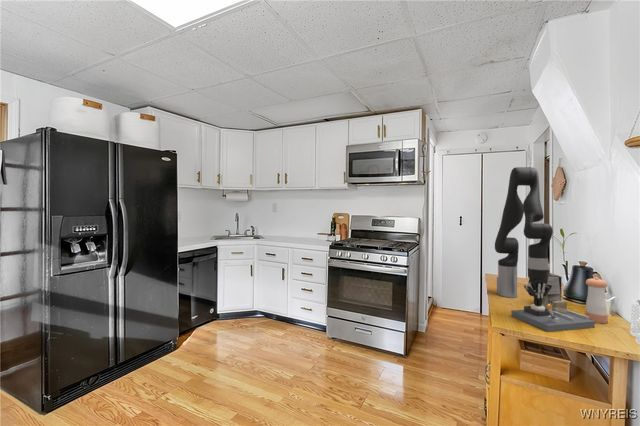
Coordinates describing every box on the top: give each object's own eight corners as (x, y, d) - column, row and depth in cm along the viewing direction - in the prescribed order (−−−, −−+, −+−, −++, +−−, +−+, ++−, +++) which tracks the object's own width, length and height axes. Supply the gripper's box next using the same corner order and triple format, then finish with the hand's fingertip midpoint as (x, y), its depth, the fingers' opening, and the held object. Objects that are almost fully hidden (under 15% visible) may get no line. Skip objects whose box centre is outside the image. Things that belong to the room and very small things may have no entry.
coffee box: (562, 309, 144) (562, 276, 144) (547, 308, 145) (547, 276, 145) (551, 303, 153) (551, 272, 153) (537, 302, 154) (537, 272, 154)
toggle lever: (549, 318, 123) (543, 304, 122) (552, 316, 123) (547, 302, 123) (553, 320, 121) (548, 306, 120) (557, 317, 121) (552, 304, 121)
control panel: (511, 315, 136) (511, 306, 136) (553, 312, 140) (553, 303, 140) (548, 331, 118) (548, 320, 118) (594, 327, 122) (594, 316, 122)
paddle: (552, 312, 132) (552, 301, 132) (563, 311, 133) (563, 300, 133) (555, 313, 131) (555, 302, 131) (566, 312, 132) (566, 301, 132)
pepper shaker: (612, 322, 127) (612, 278, 126) (598, 324, 125) (598, 279, 125) (594, 316, 134) (594, 275, 134) (580, 317, 133) (580, 275, 132)
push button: (527, 309, 134) (527, 304, 134) (537, 308, 135) (537, 303, 135) (538, 313, 129) (538, 308, 129) (547, 312, 130) (548, 307, 130)
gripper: (542, 265, 137) (542, 302, 137) (518, 266, 135) (518, 304, 135) (558, 268, 130) (558, 307, 130) (532, 269, 127) (532, 309, 127)
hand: (537, 305), depth 132 cm, fingers closed
